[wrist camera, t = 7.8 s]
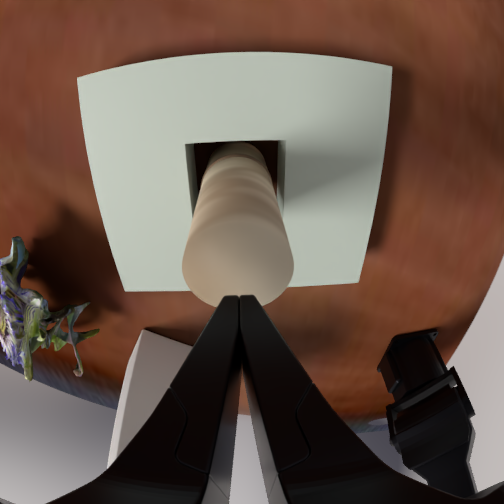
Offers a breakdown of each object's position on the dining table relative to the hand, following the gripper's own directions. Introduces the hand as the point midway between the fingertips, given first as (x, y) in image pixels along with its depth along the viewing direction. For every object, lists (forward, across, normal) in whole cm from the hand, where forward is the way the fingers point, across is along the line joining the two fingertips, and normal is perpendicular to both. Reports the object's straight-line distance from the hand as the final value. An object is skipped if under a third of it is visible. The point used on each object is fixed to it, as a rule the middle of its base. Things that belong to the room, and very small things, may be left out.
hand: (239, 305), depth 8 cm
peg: (+12, 0, 0) cm, 12 cm away
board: (+12, 0, 0) cm, 12 cm away
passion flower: (+12, +17, +9) cm, 23 cm away
